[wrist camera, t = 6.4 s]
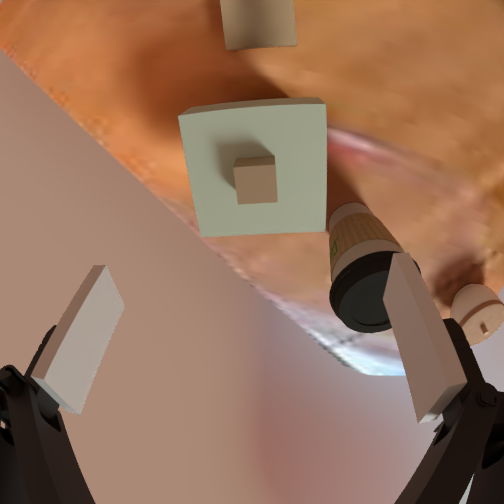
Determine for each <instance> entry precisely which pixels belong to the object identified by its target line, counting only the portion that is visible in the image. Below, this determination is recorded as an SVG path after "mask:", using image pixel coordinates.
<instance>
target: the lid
mask: <svg viewBox="0 0 504 504" xmlns="http://www.w3.org/2000/svg"><path fill="white" fill-rule="evenodd" d="M178 120H179V126H180V132H181V137H182V143H183V149H184V154H185V160H186V165H187V170H188V176H189V181H190V186H191V191H192V196H193V201H194V206H195V211H196V216H197V221H198V225H199V230H200V235H201V237H215V236H234V235H254V234H275V233H297V232H322V231H325V230H326V197H327V123H326V104H325V103H324V102H323V101H322V100H321V99H319V98H318V97H310V98H279V99H262V100H249V101H238V102H228V103H219V104H211V105H204V106H196V107H190V108H189V109H187V110H186V111H184V112H183V113H181V114H180V115H178Z"/></svg>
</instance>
